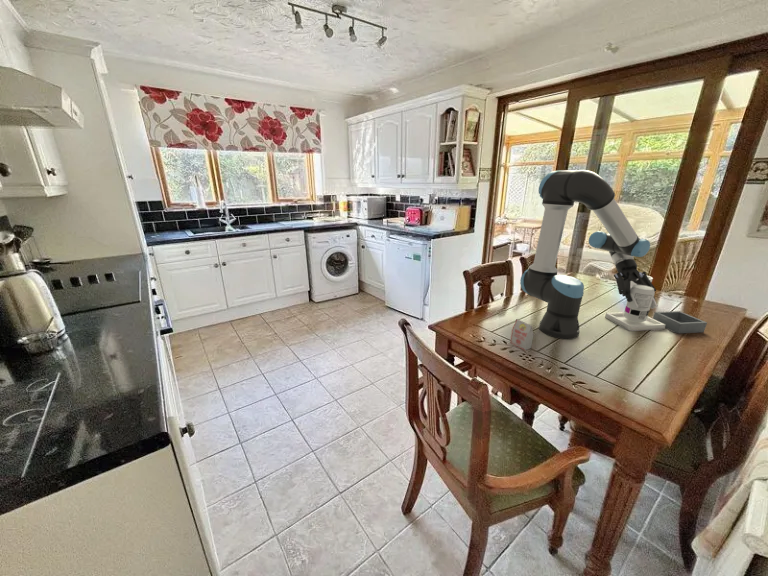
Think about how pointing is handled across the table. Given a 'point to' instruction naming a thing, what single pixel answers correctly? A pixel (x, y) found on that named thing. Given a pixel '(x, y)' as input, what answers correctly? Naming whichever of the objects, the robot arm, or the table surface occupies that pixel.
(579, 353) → the table surface
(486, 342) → the table surface
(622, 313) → the tray
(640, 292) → the supplement can
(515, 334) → the white paper packet
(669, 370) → the table surface
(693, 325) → the grey open square box
